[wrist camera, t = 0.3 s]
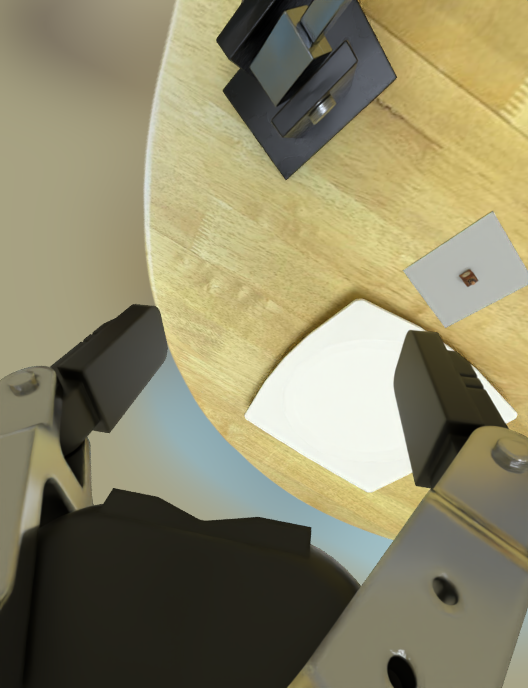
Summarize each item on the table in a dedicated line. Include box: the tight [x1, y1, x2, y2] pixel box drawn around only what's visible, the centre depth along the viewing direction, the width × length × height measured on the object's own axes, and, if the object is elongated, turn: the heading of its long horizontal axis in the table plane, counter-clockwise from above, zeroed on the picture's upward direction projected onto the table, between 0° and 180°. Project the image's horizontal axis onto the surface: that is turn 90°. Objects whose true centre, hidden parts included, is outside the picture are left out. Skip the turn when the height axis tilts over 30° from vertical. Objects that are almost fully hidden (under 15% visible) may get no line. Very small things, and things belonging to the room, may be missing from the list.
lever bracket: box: [216, 0, 397, 180], centre depth 19 cm, size 10×8×12 cm
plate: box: [244, 299, 517, 492], centre depth 38 cm, size 24×24×3 cm
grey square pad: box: [403, 211, 528, 328], centre depth 28 cm, size 8×8×2 cm
